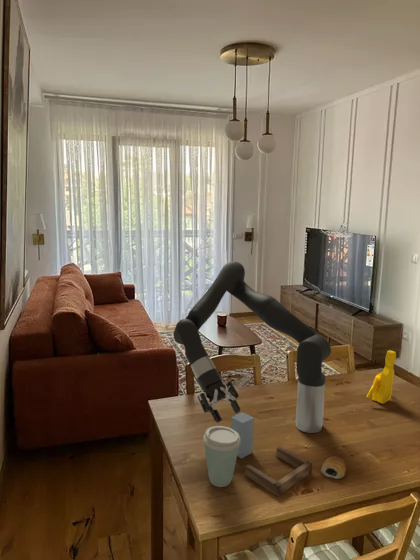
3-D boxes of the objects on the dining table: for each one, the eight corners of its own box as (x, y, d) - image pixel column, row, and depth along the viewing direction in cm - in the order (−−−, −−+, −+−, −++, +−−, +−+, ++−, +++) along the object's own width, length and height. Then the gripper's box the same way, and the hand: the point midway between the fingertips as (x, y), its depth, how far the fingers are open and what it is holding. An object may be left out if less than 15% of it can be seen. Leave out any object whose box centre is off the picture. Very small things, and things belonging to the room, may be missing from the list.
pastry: (327, 459, 134) (328, 448, 133) (349, 466, 131) (350, 454, 130) (319, 475, 126) (320, 463, 125) (342, 482, 122) (343, 471, 122)
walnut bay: (279, 454, 135) (279, 446, 135) (311, 472, 126) (312, 463, 126) (245, 475, 124) (245, 466, 124) (277, 496, 116) (278, 486, 115)
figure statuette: (382, 391, 183) (387, 342, 179) (400, 398, 177) (406, 347, 174) (361, 403, 172) (365, 351, 168) (379, 410, 166) (384, 357, 162)
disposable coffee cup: (228, 465, 129) (229, 420, 126) (246, 487, 119) (248, 438, 117) (196, 474, 124) (197, 427, 122) (212, 497, 115) (213, 446, 112)
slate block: (240, 445, 140) (242, 412, 138) (252, 452, 136) (253, 417, 134) (230, 451, 136) (231, 416, 134) (241, 458, 133) (243, 423, 131)
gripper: (215, 372, 151) (238, 413, 146) (184, 383, 142) (207, 429, 136) (226, 362, 147) (250, 405, 141) (195, 374, 137) (219, 420, 131)
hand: (229, 417), depth 138 cm, fingers open, 8 cm apart
